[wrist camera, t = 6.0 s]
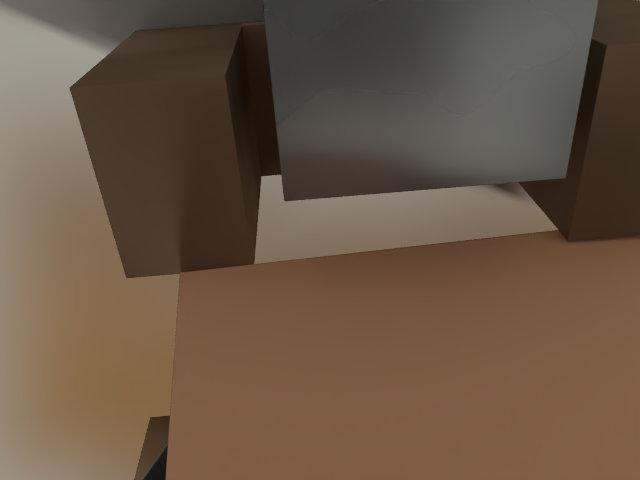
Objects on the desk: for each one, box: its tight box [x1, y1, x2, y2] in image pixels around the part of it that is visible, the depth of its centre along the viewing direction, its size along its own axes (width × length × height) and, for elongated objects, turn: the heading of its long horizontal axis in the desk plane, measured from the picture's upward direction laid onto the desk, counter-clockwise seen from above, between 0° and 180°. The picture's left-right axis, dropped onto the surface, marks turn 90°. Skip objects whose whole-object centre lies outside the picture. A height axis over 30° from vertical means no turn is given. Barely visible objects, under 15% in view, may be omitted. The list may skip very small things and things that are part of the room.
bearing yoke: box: [70, 0, 640, 278], centre depth 8 cm, size 7×2×3 cm, turn 94°
